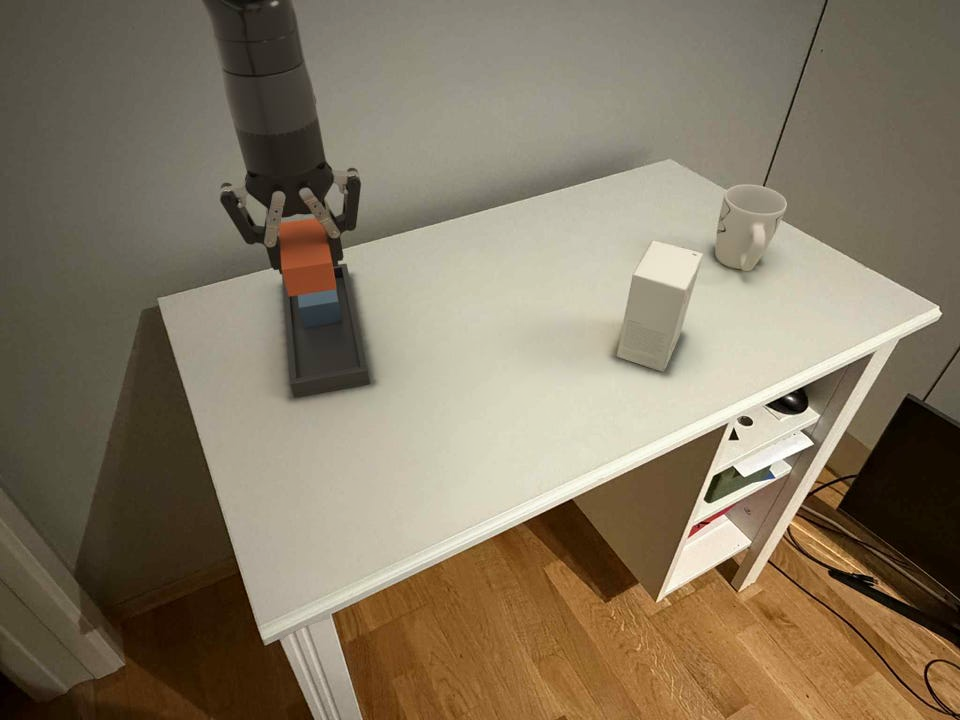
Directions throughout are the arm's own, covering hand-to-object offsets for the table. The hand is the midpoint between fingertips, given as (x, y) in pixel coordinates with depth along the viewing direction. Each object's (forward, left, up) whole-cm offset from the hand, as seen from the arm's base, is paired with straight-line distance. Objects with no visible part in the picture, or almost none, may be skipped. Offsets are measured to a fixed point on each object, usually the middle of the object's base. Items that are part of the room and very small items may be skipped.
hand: (309, 265), depth 70 cm
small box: (+31, -27, -15) cm, 43 cm away
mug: (+56, -26, -15) cm, 63 cm away
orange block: (0, 0, 0) cm, 0 cm away
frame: (+3, +5, -15) cm, 16 cm away
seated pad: (+5, +10, -14) cm, 18 cm away
